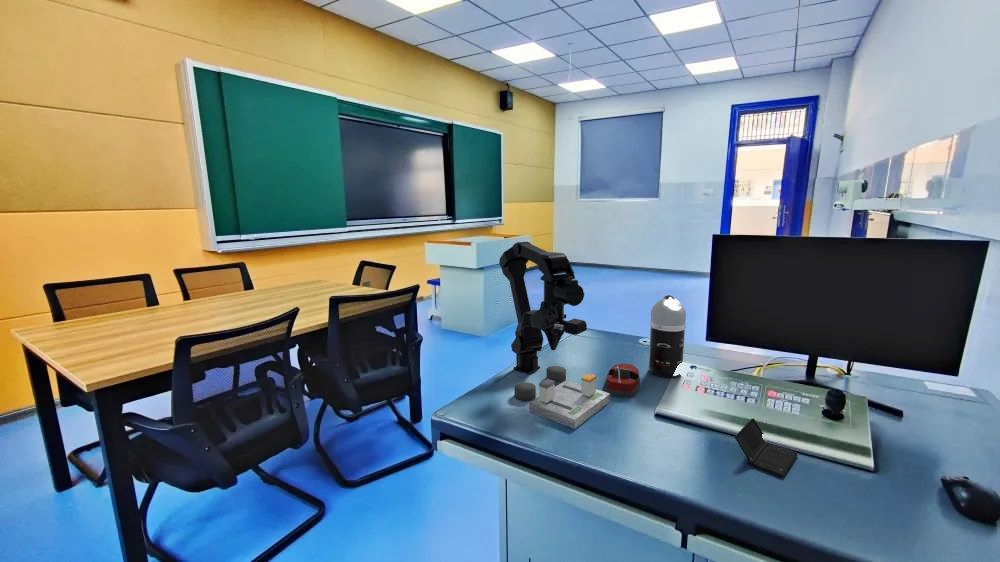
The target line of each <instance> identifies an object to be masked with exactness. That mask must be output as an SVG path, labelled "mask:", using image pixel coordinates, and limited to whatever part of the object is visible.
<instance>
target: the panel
mask: <svg viewBox="0 0 1000 562" xmlns="http://www.w3.org/2000/svg"><path fill="white" fill-rule="evenodd" d="M609 403H611V395H610V393H607V392H605V390H604V391H602V390H600V389H597V388H596V392H595V393H594V394H592V395H591V396H590V397H588V396H585V395H582V394H581V384H580V383H577V382H574V381H571V380H567V379H566V381H564V382H562V383H558V385H555V398H554V399H553V400H551V401H549V402H548V403H545V402H542V401H540V400H539V396H536V398H535V399H534V400H532V401H528V412H530V413H533V414H534V415H535V414H536V415H538V416H540V417H542V418H545V419H548V420H551V421H553V422H555V423H557V424H561V425H563V426H566V427H569V428H571V429H573V430H576V429H577V428H578V427H579V426H581V425H582V424H584V422H586V421H588V420H589V419H590V418H591V417H592V416H594V415H596V413H598V412H599V411H600V410H602V409H603V408H605V406H607V405H608V404H609Z"/></svg>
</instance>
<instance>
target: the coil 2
mask: <svg viewBox="0 0 1000 562" xmlns="http://www.w3.org/2000/svg"><path fill="white" fill-rule="evenodd" d="M546 379H550V380H553V381H555V384H561V382H564V381H566V380H567V369H566V368H565V367H564V366H560V365H551V366H547V368H546Z"/></svg>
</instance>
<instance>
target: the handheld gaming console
mask: <svg viewBox="0 0 1000 562" xmlns="http://www.w3.org/2000/svg"><path fill="white" fill-rule="evenodd" d="M762 434H764V432H763V431H762V429H761V427H760V426H759V424H758V423H757V421H756V420H755V418H754V417H753V418H750V420H749V421H748V422H747V423H746V424H745V425H744V426H743V427H742V428H741V429H740V430H739V431H738V432H737V433H736V434H735V436H734V438H735V440H736V442H737V444H738V445H739V447H740V449H741V451H742V452H743V454H744V455H745V457H746V458H747V460H748V462H749V467H752V468H755V469H757V470H759V471H763V472H766V473H767V474H769V475H773V476H775V477H778V478H780V479H783V478H784V477H785V476H786V474H787V472H788V471H789V469H790V468H791V466H792V465H791V464H793V463H794V462H793V461H795V460H796V458H797V457H796V456H798V452H797V451H794V450H791V449H790V448H789V449H788V448H786V447H783V446H780V445H778V444H775V445H773V444H774V443H772V444H769V443H768V442H765V441H764V440H763V438H762ZM795 457H796V458H795ZM794 459H795V460H794ZM792 462H793V463H792ZM789 467H790V468H789ZM784 475H785V476H784Z"/></svg>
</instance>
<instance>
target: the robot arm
mask: <svg viewBox="0 0 1000 562" xmlns="http://www.w3.org/2000/svg"><path fill="white" fill-rule="evenodd" d="M529 261H530V262H531V263H533V264H535V265H537V267H538V268H537V269H538V271H540V272H541V274H542V276H541V277H540V280H541V281H543V300H542V301H540V307H539V308H538V309H532V310H531V306H530V300H529V295H528V290H527V287H526V281H525V275H526V271H527V263H528V262H529ZM498 264H499V267H500V269H501V271H502V274H503V276H504V277H505V278H506V279H507V280H508V281H509V286H510V291H511V295H512V299H513V300H512V301H513V305H514V311H515V313H516V320H517V326H516V329H515V332H514V333H515V335H514V336H515V338H514V340H513V342H511V345H510V347H511V351H512V352H513V353H514V354H516V355H515V359H516V364H515V365H516V366H514V367H513V370H515V371H518V372H521V373H525V374H529V375H530V374H531V373H533V372H535V371H537V370H539V369H540V368H541V366H540V365H539V356H538V352H541V351H542V349H543V344H544V335H543V333H544V334H545V337H546V339H547V342H548V345H549V348H550V350H551V351H555V350H557V347H558V345H559V343H560V341H561V339H562V337H563V335H564V333H565V334H570V335H573V336H576V335H579V334H582V333H585V332H586V331H587V328H588V324H587V322H586V321H585V320H584V319H578V318H571V319H570V320H566V318H567V314H565V305H570V306H571V307H575V306H579V305H580V304H581V303H582V302H583V300H584V298H585V291H584V289H583V287H582V286H581V285H579V280H578V279H576V276H575V271H574V269H573V268H572V266H571V263H570V259H568V256H567V254H565V253H562V252H558V251H557V252H553V251H547V250H545V249H542V248H540V247H538V246H537V245H536V246H535V245H534V244H533V243H531V242H530V241H517V242H516V243H513V245H512V246H511V247H510V248H508V249H506V250H505V251H503V253H502V254H501V256H500V257H499V261H498Z"/></svg>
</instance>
